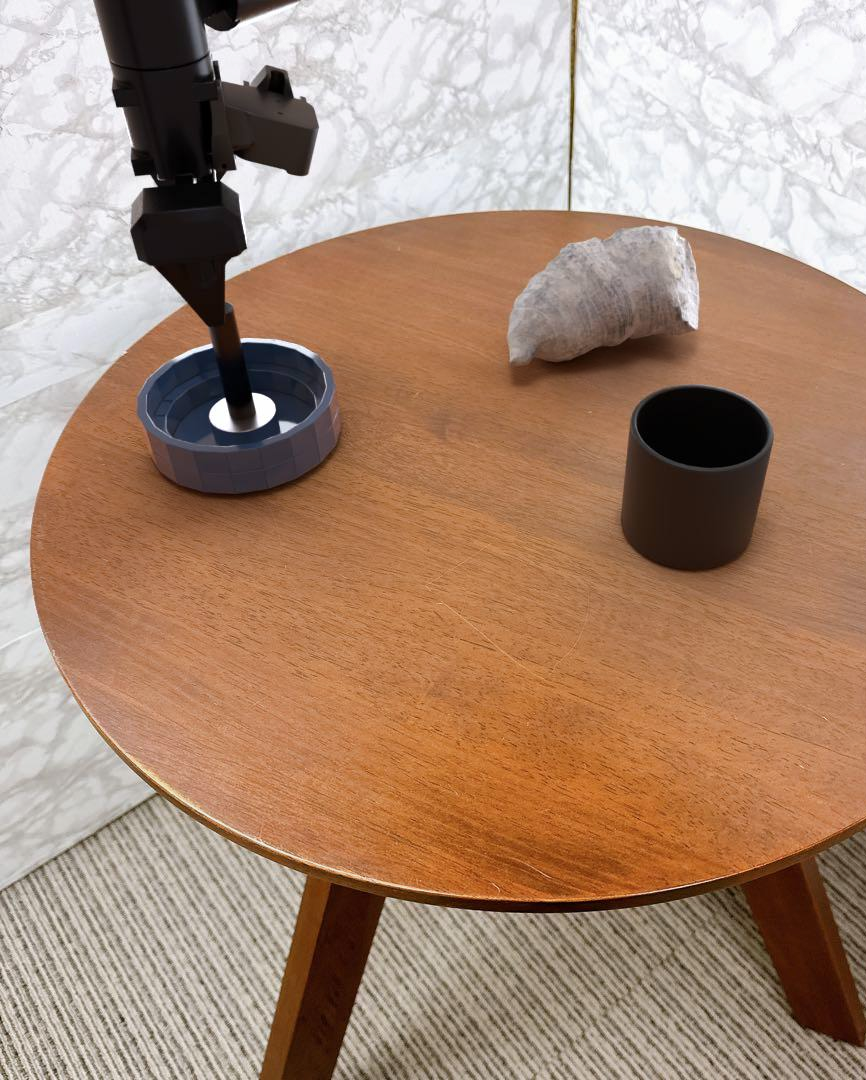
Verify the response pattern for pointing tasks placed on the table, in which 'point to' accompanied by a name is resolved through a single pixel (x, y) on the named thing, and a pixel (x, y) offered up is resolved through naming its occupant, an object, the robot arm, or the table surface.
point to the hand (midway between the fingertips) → (214, 290)
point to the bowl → (195, 387)
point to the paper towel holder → (238, 392)
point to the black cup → (694, 475)
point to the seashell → (606, 295)
